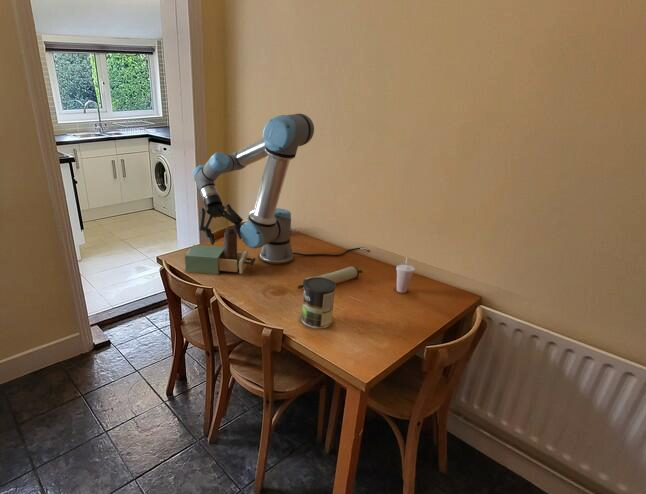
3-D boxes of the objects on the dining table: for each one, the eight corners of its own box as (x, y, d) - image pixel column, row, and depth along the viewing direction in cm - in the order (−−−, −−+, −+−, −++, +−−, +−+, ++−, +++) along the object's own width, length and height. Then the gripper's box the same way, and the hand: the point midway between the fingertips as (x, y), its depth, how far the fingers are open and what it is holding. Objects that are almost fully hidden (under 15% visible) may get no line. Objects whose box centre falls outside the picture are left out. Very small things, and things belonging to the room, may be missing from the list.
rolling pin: (301, 296, 156) (302, 284, 153) (293, 290, 160) (294, 278, 158) (365, 278, 169) (367, 267, 167) (356, 273, 173) (357, 262, 171)
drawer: (256, 263, 181) (256, 251, 179) (251, 274, 171) (251, 262, 168) (218, 260, 185) (217, 248, 182) (211, 271, 174) (210, 258, 172)
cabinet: (225, 262, 185) (225, 247, 182) (218, 274, 174) (217, 257, 170) (194, 260, 188) (194, 244, 184) (185, 271, 177) (184, 255, 173)
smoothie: (410, 288, 161) (416, 255, 155) (410, 295, 155) (417, 261, 149) (392, 285, 163) (398, 253, 157) (392, 292, 157) (398, 259, 151)
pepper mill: (238, 263, 179) (238, 226, 172) (235, 268, 175) (235, 230, 167) (226, 262, 180) (225, 225, 173) (223, 266, 176) (222, 229, 168)
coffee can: (305, 329, 135) (307, 291, 129) (298, 313, 144) (300, 277, 138) (335, 328, 135) (339, 290, 129) (327, 312, 145) (330, 276, 139)
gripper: (233, 198, 189) (249, 239, 184) (182, 206, 179) (198, 249, 173) (238, 189, 183) (255, 231, 178) (186, 197, 172) (203, 241, 167)
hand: (227, 240), depth 175 cm, fingers open, 13 cm apart
